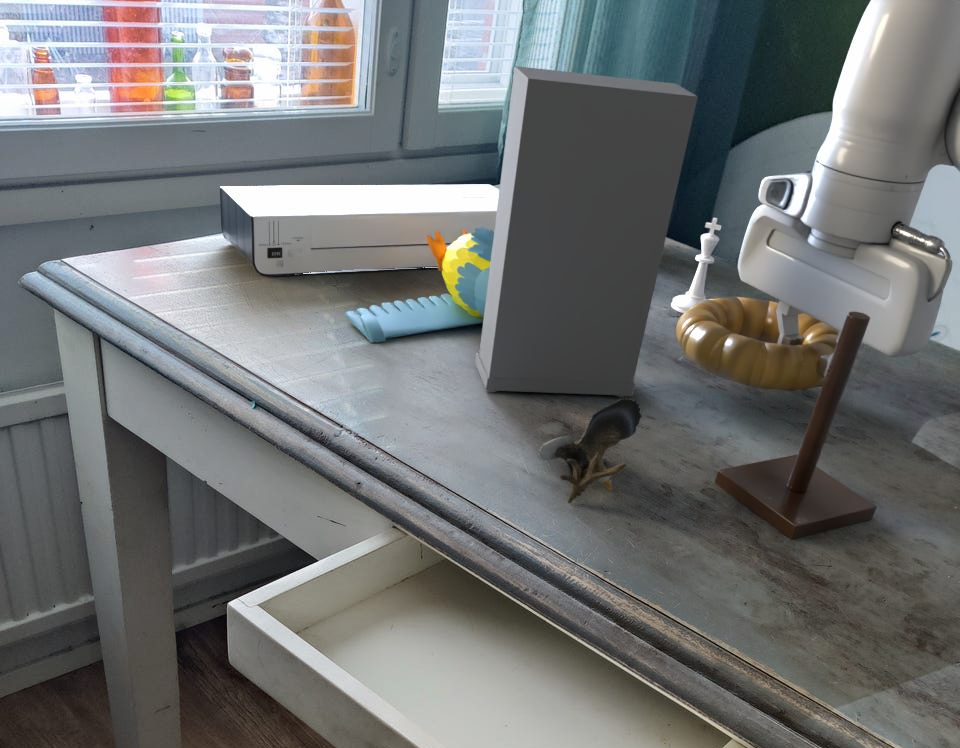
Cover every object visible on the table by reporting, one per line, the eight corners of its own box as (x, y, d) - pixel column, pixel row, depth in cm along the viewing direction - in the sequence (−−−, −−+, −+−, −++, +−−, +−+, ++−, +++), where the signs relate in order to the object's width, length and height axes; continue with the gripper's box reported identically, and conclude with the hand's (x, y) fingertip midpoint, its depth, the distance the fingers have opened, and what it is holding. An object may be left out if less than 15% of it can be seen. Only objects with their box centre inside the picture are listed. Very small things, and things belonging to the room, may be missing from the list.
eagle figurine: (646, 507, 73) (659, 437, 79) (609, 431, 69) (625, 362, 75) (554, 531, 77) (573, 462, 83) (514, 460, 73) (536, 392, 79)
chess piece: (709, 320, 111) (734, 228, 105) (667, 310, 112) (689, 218, 106) (716, 307, 115) (740, 218, 109) (675, 297, 116) (697, 208, 110)
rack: (793, 466, 84) (855, 288, 75) (872, 519, 78) (950, 333, 69) (713, 482, 80) (769, 296, 71) (791, 539, 74) (863, 345, 65)
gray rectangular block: (613, 371, 96) (674, 81, 81) (631, 398, 91) (700, 97, 76) (474, 365, 93) (510, 63, 78) (485, 393, 88) (526, 78, 73)
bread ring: (760, 324, 104) (771, 286, 102) (874, 385, 94) (889, 345, 91) (641, 338, 97) (649, 298, 95) (750, 407, 87) (763, 363, 84)
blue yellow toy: (560, 204, 109) (648, 252, 99) (547, 283, 114) (628, 335, 105) (329, 216, 95) (406, 273, 86) (326, 304, 100) (398, 366, 91)
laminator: (483, 234, 126) (489, 183, 123) (531, 267, 118) (539, 213, 115) (221, 243, 112) (219, 185, 108) (256, 281, 104) (254, 220, 100)
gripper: (985, 243, 76) (918, 408, 85) (799, 172, 90) (757, 321, 98) (932, 248, 74) (867, 418, 82) (748, 174, 87) (709, 327, 95)
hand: (806, 365), depth 90 cm, fingers closed on bread ring, 4 cm apart
